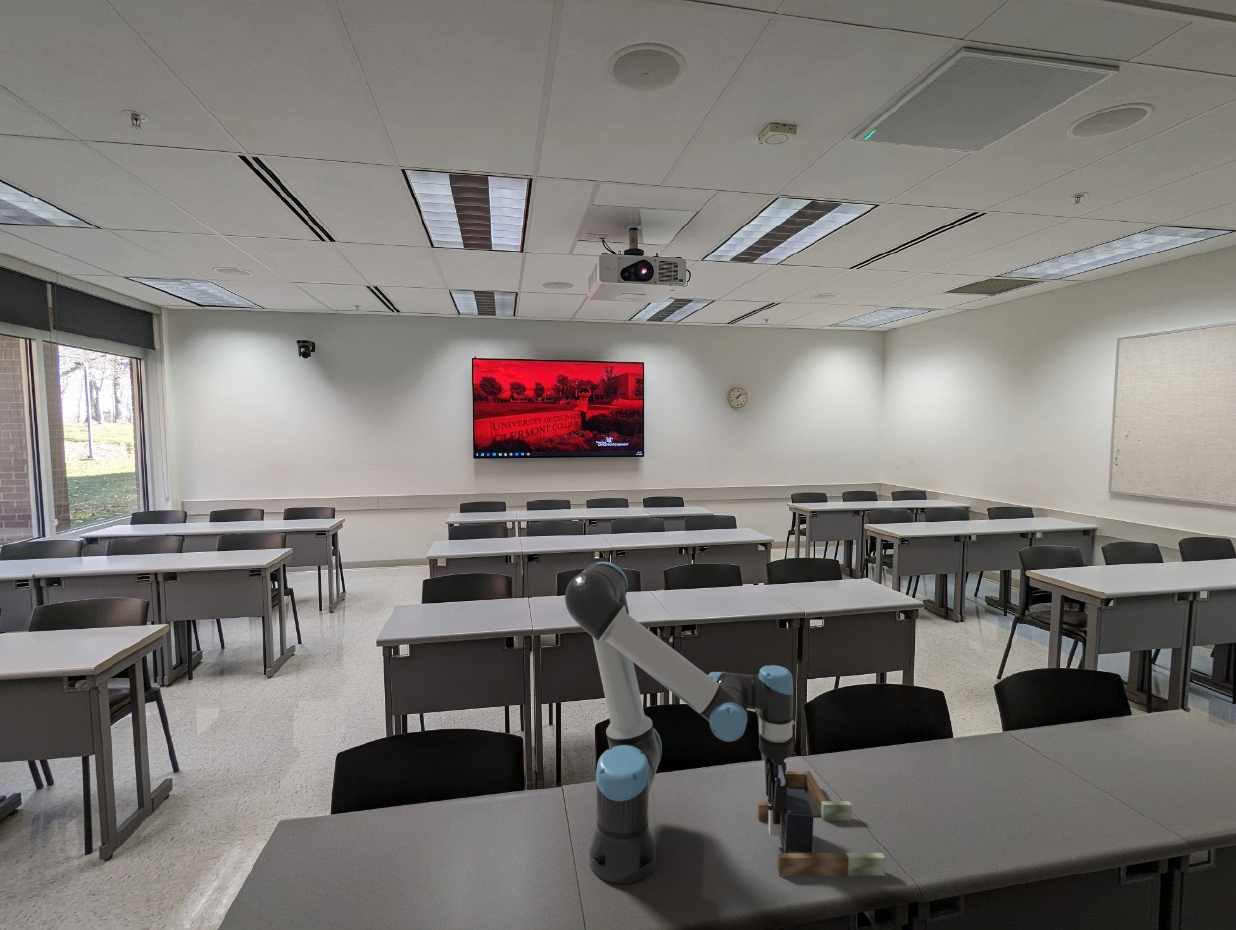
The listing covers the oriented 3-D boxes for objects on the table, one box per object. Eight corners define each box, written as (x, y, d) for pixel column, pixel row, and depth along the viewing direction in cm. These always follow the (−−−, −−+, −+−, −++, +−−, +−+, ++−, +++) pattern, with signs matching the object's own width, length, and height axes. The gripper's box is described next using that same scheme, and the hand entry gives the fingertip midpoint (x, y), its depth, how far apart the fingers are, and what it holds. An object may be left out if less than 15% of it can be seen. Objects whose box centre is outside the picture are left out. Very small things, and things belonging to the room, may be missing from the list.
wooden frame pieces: (779, 875, 129) (779, 857, 129) (745, 785, 162) (745, 771, 162) (885, 875, 129) (885, 857, 129) (829, 785, 163) (829, 771, 162)
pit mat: (785, 816, 149) (785, 815, 149) (772, 788, 161) (772, 787, 161) (821, 816, 149) (821, 815, 149) (805, 788, 161) (805, 787, 161)
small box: (814, 861, 133) (815, 816, 133) (784, 859, 134) (785, 814, 134) (804, 830, 144) (805, 788, 143) (777, 828, 145) (777, 786, 144)
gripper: (800, 749, 131) (799, 853, 132) (784, 721, 144) (783, 815, 145) (766, 749, 131) (765, 853, 132) (753, 721, 144) (752, 816, 145)
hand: (775, 833), depth 139 cm, fingers closed
